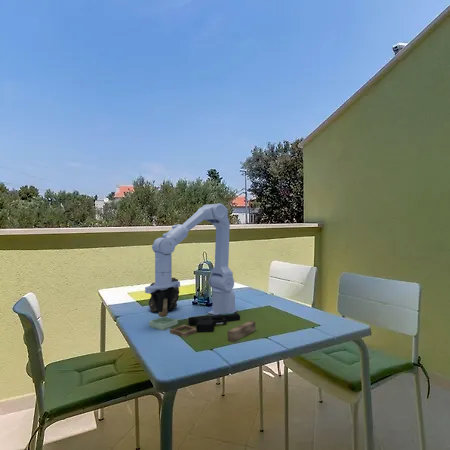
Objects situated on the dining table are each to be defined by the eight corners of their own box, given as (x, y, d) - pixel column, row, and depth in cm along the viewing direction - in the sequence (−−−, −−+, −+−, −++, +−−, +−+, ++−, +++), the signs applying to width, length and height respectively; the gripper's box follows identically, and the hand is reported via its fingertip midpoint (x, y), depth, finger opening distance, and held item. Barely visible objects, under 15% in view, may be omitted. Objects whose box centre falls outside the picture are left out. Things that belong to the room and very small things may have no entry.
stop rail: (250, 329, 107) (250, 320, 107) (255, 330, 106) (255, 321, 106) (227, 340, 97) (227, 331, 97) (232, 342, 96) (232, 332, 96)
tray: (164, 321, 116) (164, 316, 116) (177, 325, 112) (177, 319, 112) (149, 326, 110) (149, 321, 110) (162, 330, 106) (162, 324, 106)
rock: (165, 307, 141) (190, 306, 133) (143, 315, 131) (169, 314, 122) (161, 276, 143) (185, 272, 134) (138, 280, 132) (164, 277, 124)
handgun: (250, 328, 110) (236, 318, 121) (250, 319, 110) (236, 310, 121) (197, 334, 102) (187, 324, 113) (197, 325, 102) (187, 315, 113)
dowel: (169, 315, 111) (169, 298, 111) (162, 317, 109) (162, 300, 109) (163, 313, 113) (163, 297, 113) (156, 315, 111) (157, 298, 111)
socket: (184, 328, 109) (184, 324, 109) (198, 331, 105) (198, 328, 105) (169, 333, 104) (169, 329, 104) (184, 337, 100) (184, 333, 100)
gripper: (170, 268, 119) (170, 304, 119) (139, 273, 108) (139, 313, 108) (184, 270, 115) (184, 307, 115) (153, 275, 103) (153, 316, 103)
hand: (163, 310), depth 111 cm, fingers closed on dowel, 3 cm apart
